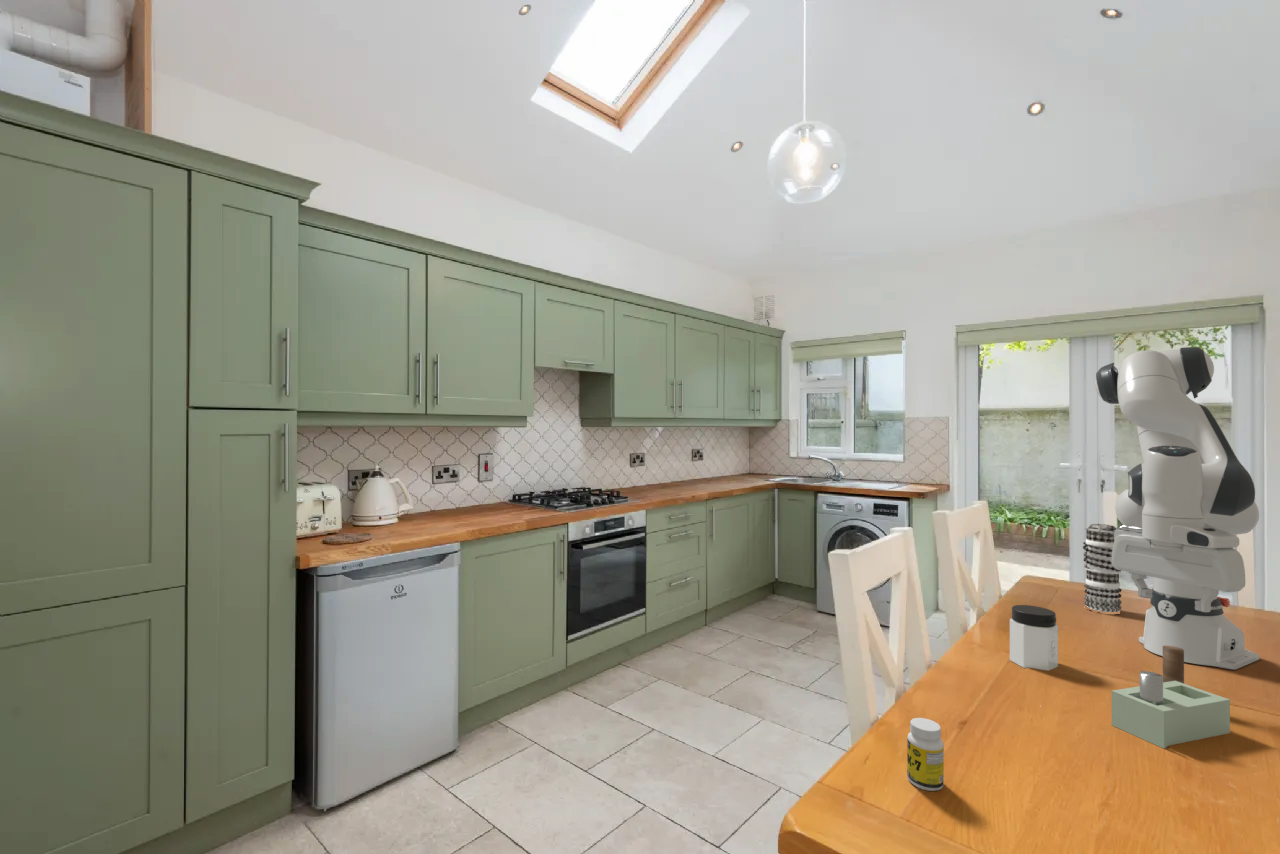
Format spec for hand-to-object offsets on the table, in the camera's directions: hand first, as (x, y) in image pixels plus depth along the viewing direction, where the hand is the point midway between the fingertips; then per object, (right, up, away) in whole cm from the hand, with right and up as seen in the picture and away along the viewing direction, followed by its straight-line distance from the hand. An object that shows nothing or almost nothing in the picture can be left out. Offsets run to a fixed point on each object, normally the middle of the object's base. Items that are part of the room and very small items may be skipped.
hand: (1172, 604), depth 112 cm
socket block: (-10, -19, -10) cm, 24 cm away
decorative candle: (+34, -20, +60) cm, 72 cm away
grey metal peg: (-14, -19, -12) cm, 26 cm away
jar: (-14, -19, +19) cm, 30 cm away
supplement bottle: (-60, -18, -27) cm, 68 cm away
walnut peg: (0, -18, 0) cm, 18 cm away
